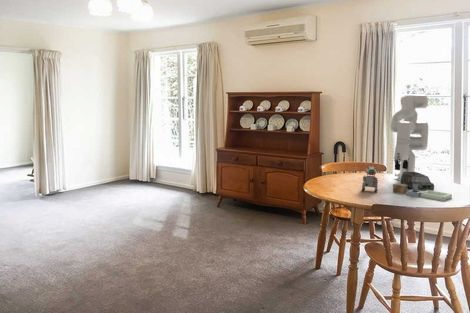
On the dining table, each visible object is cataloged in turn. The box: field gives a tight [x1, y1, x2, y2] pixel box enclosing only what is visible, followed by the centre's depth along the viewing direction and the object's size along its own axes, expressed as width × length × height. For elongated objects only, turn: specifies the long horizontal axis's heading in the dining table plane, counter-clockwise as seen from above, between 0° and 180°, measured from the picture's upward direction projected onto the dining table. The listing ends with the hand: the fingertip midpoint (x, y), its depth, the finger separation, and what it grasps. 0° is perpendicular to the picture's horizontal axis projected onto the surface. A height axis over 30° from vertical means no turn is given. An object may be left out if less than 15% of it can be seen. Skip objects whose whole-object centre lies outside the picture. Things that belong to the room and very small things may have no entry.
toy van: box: [399, 171, 435, 191], centre depth 268 cm, size 11×25×10 cm, turn 4°
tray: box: [418, 190, 453, 202], centre depth 247 cm, size 14×11×2 cm
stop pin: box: [412, 180, 419, 192], centre depth 252 cm, size 4×4×9 cm
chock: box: [392, 182, 408, 195], centre depth 260 cm, size 7×4×5 cm, turn 41°
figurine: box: [361, 165, 379, 193], centre depth 263 cm, size 9×12×15 cm
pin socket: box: [405, 188, 423, 198], centre depth 252 cm, size 7×7×2 cm
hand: (401, 169), depth 258 cm, fingers open, 9 cm apart
